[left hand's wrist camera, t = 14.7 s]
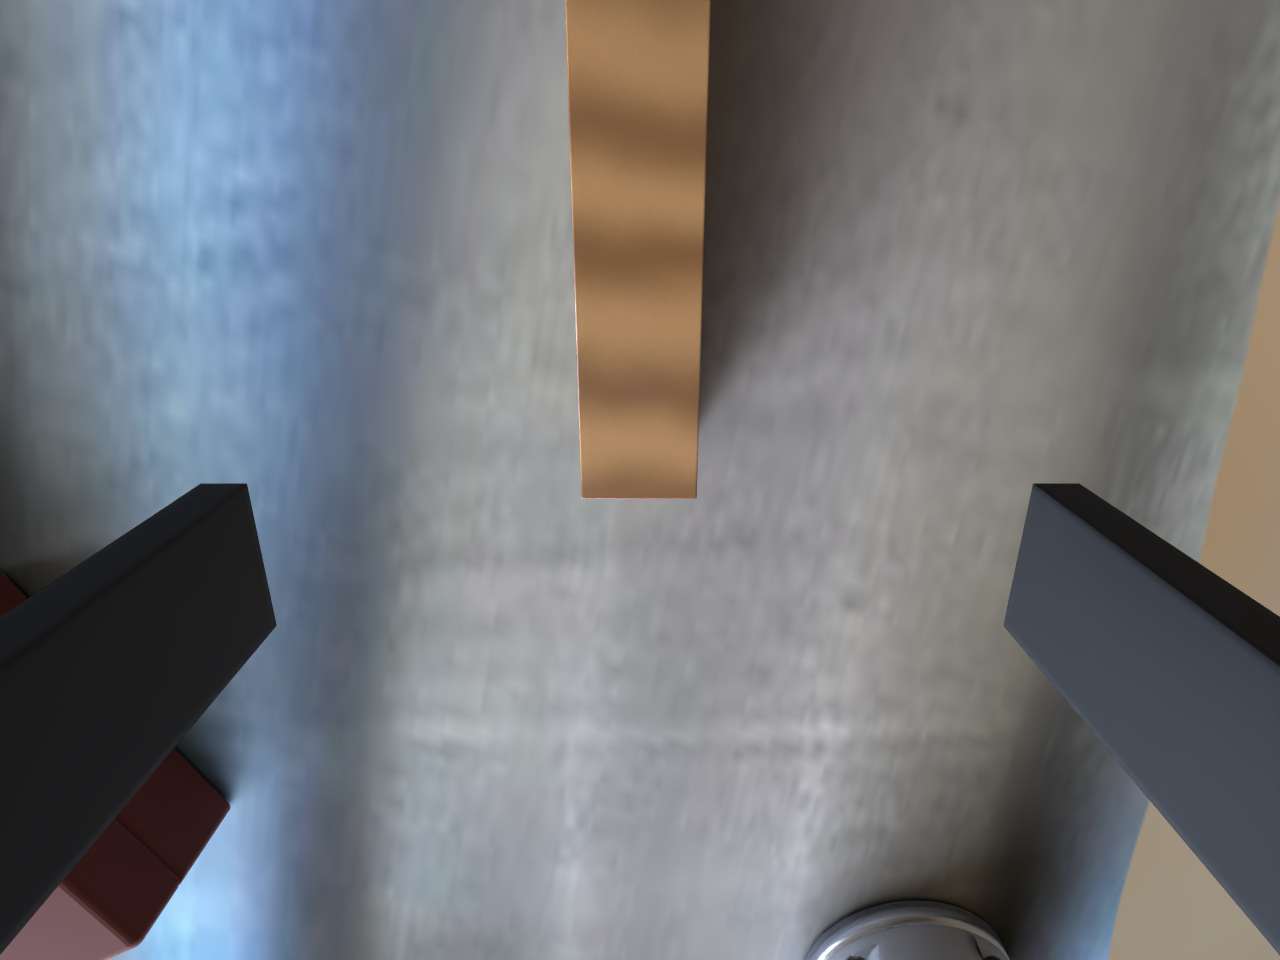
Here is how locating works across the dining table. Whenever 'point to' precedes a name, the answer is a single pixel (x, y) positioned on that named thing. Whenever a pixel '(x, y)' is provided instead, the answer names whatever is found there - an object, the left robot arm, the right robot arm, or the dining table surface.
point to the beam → (638, 239)
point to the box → (123, 862)
